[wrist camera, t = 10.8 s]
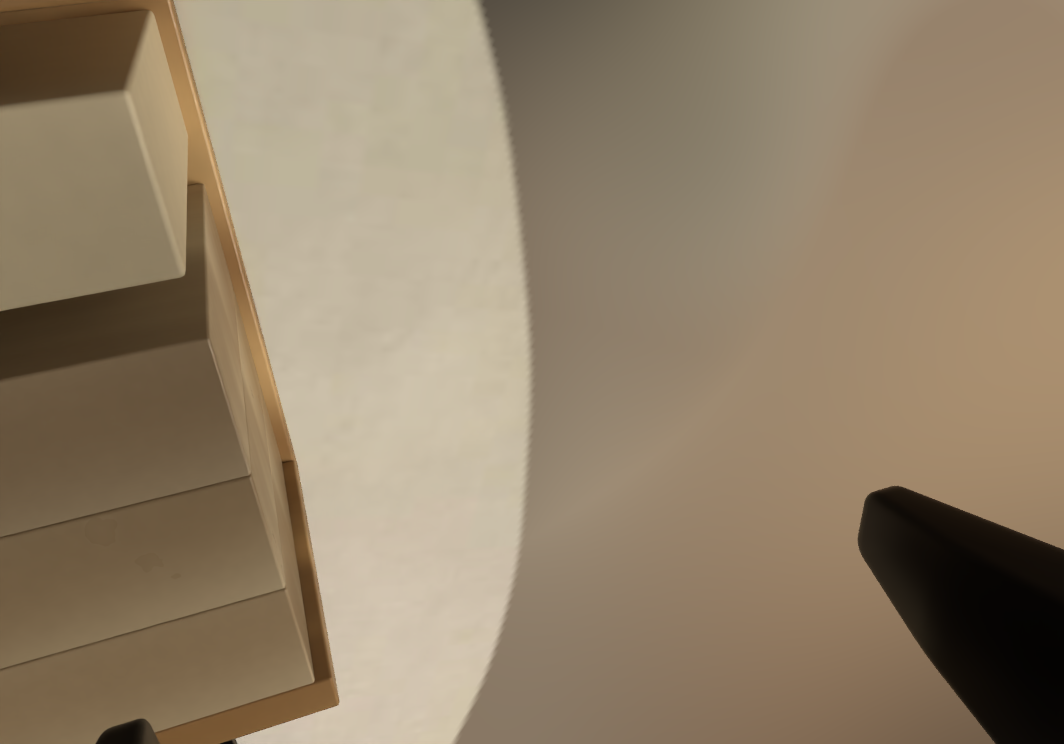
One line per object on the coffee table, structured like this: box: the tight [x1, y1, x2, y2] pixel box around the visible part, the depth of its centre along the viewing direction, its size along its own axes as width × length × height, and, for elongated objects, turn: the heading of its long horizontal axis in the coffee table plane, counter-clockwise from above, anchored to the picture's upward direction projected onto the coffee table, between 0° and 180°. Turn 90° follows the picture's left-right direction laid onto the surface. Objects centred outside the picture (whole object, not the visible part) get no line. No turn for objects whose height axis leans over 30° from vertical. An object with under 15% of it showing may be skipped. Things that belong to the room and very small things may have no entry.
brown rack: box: [0, 0, 339, 744], centre depth 15 cm, size 13×6×8 cm, turn 4°
